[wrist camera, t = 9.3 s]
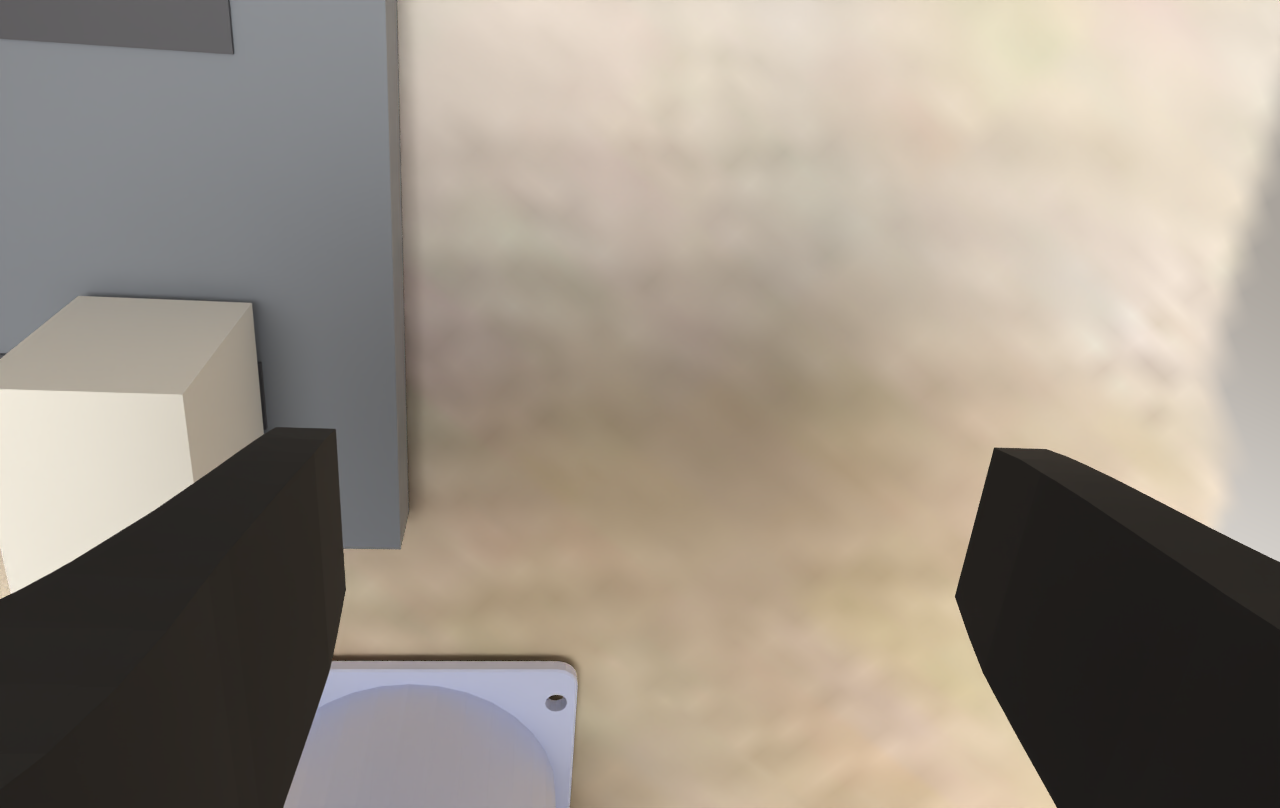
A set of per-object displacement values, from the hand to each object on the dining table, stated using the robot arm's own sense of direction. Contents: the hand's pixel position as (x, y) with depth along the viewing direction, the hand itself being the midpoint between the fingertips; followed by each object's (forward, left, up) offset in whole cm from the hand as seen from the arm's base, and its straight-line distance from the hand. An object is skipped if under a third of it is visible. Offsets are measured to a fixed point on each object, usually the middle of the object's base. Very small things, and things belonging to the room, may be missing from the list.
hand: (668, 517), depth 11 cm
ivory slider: (-3, +8, -9) cm, 12 cm away
